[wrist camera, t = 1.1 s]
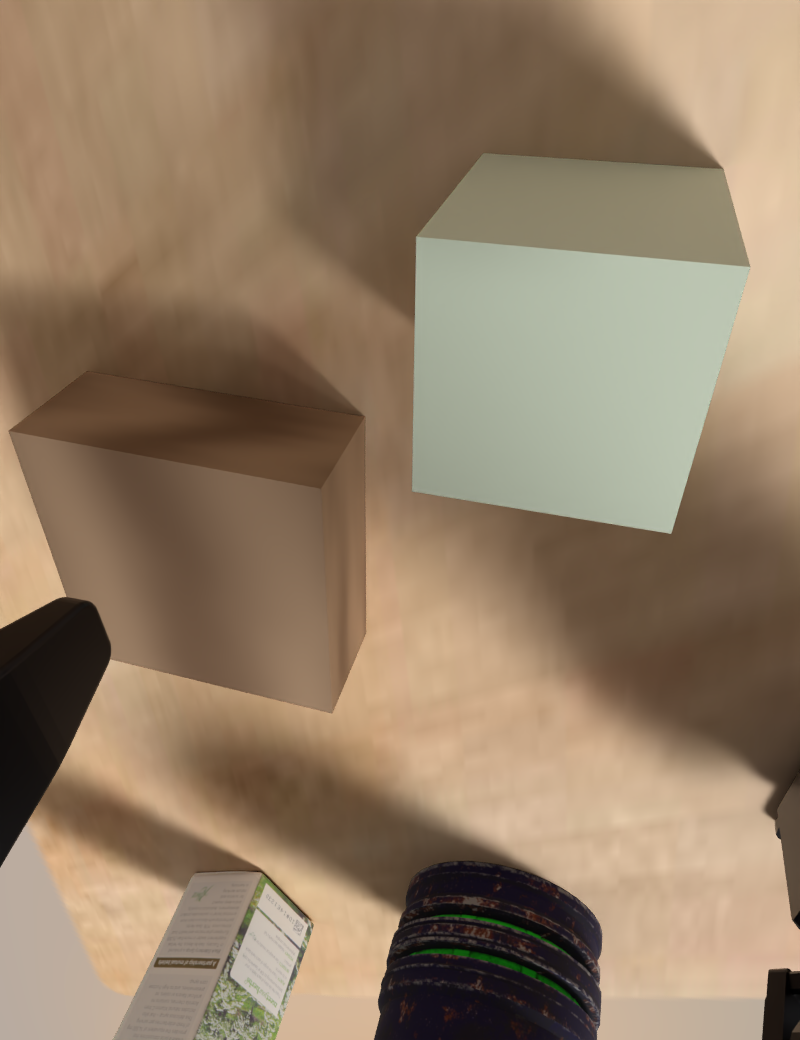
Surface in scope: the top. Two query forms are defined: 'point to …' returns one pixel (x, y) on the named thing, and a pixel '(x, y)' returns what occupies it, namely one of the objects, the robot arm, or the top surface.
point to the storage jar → (491, 959)
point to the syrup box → (221, 963)
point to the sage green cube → (572, 334)
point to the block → (207, 530)
